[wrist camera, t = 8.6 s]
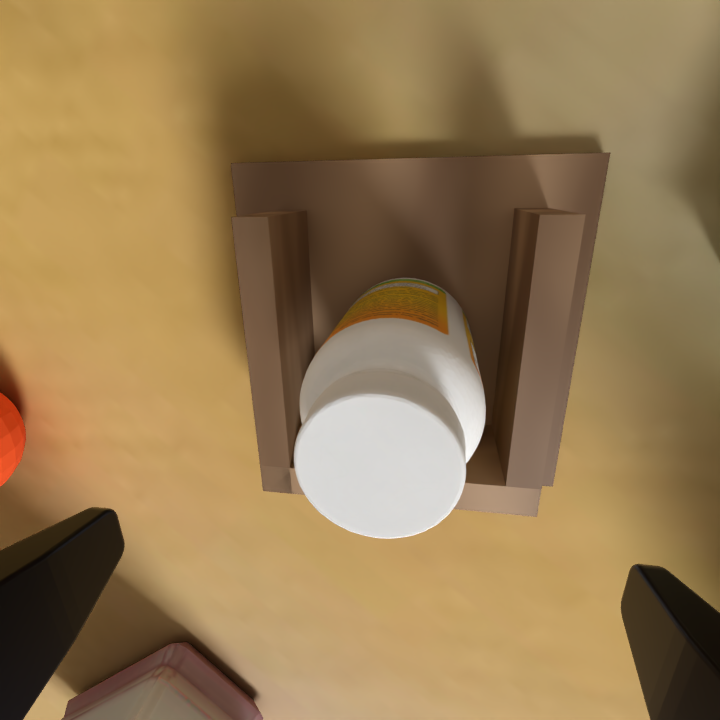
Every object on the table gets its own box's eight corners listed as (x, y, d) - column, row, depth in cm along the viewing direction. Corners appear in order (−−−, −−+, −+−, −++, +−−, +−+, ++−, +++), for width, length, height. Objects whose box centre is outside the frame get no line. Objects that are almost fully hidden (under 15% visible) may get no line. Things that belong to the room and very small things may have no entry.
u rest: (604, 153, 16) (672, 139, 11) (549, 478, 21) (581, 560, 16) (237, 164, 18) (168, 155, 13) (268, 455, 23) (226, 522, 18)
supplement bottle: (319, 333, 19) (217, 455, 10) (409, 247, 17) (379, 307, 9) (402, 417, 20) (373, 596, 11) (497, 343, 18) (553, 490, 9)
